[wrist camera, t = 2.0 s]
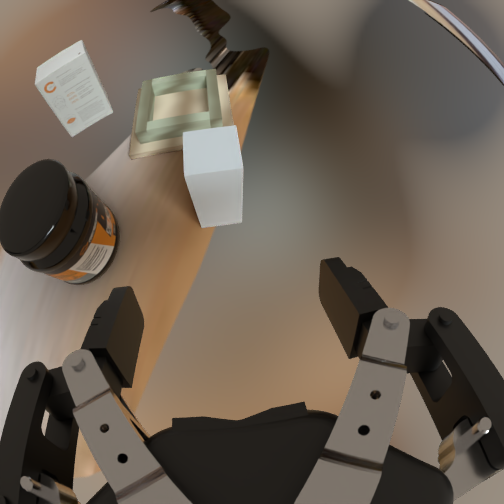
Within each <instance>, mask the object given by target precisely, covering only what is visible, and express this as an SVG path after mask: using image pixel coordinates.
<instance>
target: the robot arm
mask: <svg viewBox="0 0 504 504" xmlns="http://www.w3.org/2000/svg"><path fill="white" fill-rule="evenodd" d="M319 297H320V301H321V304H322V306H323V308H324V310H325V312H326V313H327V316H328V318H329V320H330V322H331V324H332V326H333V328H334V329H335V332H336V333H337V335H338V338H339V339H340V342H341V344H342V346H343V348H344V350H345V352H346V354H347V356H348V358H349V359H351V358H354V357H359V359H360V361H359V364H358V367H357V370H356V373H355V376H354V378H353V381H352V384H351V386H350V389H349V392H348V395H347V397H346V399H345V402H344V404H343V407H342V409H341V412H340V414H339V416H337V415H334V414H331V413H328V412H324V411H318V410H307V409H306V406H305V402H300V403H296V404H291V405H286V406H281V407H275V408H271V409H269V410H266V411H263V412H261V413H258V414H256V415H253V416H250V417H248V418H245V419H242V420H227V419H218V418H211V417H188V418H173V419H172V427H170V428H167V429H164V430H162V431H160V432H158V433H156V434H154V435H153V436H150V435H149V434H148V433H147V431H146V430H145V429H144V428H143V426H142V425H141V423H140V422H139V421H138V419H137V418H136V416H135V415H134V413H133V412H132V410H131V409H130V407H129V406H128V404H127V403H126V401H125V400H124V398H123V397H122V395H121V389H122V388H132V383H133V378H134V372H135V367H136V362H137V357H138V352H139V347H140V343H141V338H142V334H143V329H144V318H143V314H142V312H141V309H140V307H139V304H138V302H137V299H136V297H135V294H134V291H133V289H132V288H131V287H130V286H126V287H118V288H113V290H112V292H111V294H110V296H109V299H108V300H105V301H104V302H103V303H102V304H101V305H100V306H99V307H98V308H97V311H96V313H95V315H94V319H93V320H92V322H91V326H90V327H89V329H88V332H87V334H86V337H85V339H84V342H83V344H82V347H81V349H80V350H76V351H74V352H72V353H71V354H69V355H68V356H67V357H66V359H65V360H64V362H63V366H62V367H58V368H55V369H51V370H48V369H47V368H46V367H45V365H44V364H43V363H41V362H33V363H31V364H29V365H28V366H27V367H26V368H25V369H24V370H23V372H22V374H21V376H20V379H19V382H18V384H17V387H16V390H15V393H14V396H13V399H12V402H11V405H10V408H9V411H8V414H7V418H6V421H5V425H4V429H3V432H2V436H1V441H0V504H81V503H80V502H79V501H78V499H77V497H76V495H75V493H74V492H73V476H74V464H75V455H76V447H77V439H78V432H79V428H80V430H81V432H82V435H83V437H84V439H85V441H86V443H87V445H88V447H89V449H90V451H91V453H92V455H93V457H94V458H95V460H96V462H97V464H98V466H99V467H100V469H101V471H102V472H103V474H104V476H105V478H106V479H107V481H108V482H107V483H106V484H105V485H104V486H103V487H102V488H101V489H100V490H99V491H98V492H97V493H96V494H95V495H94V496H93V497H92V498H91V499H90V500H89V501H88V502H87V503H86V504H453V501H454V500H456V499H457V498H459V497H460V496H462V495H464V494H465V493H466V492H468V491H470V490H471V489H472V488H474V487H475V486H477V485H478V484H480V483H481V482H483V481H485V480H487V479H488V478H490V477H492V476H494V475H495V474H497V473H498V472H500V471H502V470H503V469H504V380H503V378H502V376H501V375H500V373H499V372H498V370H497V369H496V367H495V366H494V364H493V363H492V361H491V360H490V359H489V357H488V355H487V354H486V353H485V351H484V350H483V348H482V347H481V346H480V344H479V343H478V342H477V340H476V339H475V337H474V336H473V335H472V333H471V332H470V331H469V330H468V328H467V327H466V326H465V324H464V323H463V322H462V320H461V319H460V318H459V317H458V315H457V314H456V313H454V312H453V311H452V310H450V309H447V308H442V307H438V308H435V309H433V310H431V312H430V313H429V316H428V318H427V319H408V317H407V315H406V314H405V313H403V312H402V311H400V310H397V309H394V308H388V306H387V305H386V304H385V302H384V301H383V300H382V299H381V297H380V296H379V295H378V293H377V292H376V291H375V289H374V288H373V287H372V286H371V284H370V283H369V282H368V281H367V279H366V278H365V277H364V275H363V274H362V273H361V272H359V271H358V270H356V269H355V268H353V267H346V265H345V264H344V263H343V261H342V260H341V259H340V258H339V257H336V258H330V259H323V260H321V263H320V278H319ZM442 360H444V362H445V363H446V365H447V367H448V368H449V370H450V372H451V374H452V377H451V375H450V374H449V372H448V370H447V368H446V367H445V365H444V364H443V362H442ZM406 373H410V374H411V376H412V378H413V380H414V382H415V384H416V386H417V388H418V390H419V392H420V394H421V396H422V398H423V400H424V402H425V404H426V406H427V408H428V410H429V413H430V415H431V417H432V419H433V421H434V423H435V425H436V428H437V430H438V432H439V434H440V436H441V439H442V441H441V443H440V445H439V449H438V462H439V464H440V466H439V469H438V468H436V467H434V466H432V465H430V464H428V463H425V462H423V461H421V460H419V459H417V458H415V457H413V456H411V455H409V454H407V453H405V452H403V451H401V450H399V449H397V448H395V447H393V446H391V445H389V443H390V440H391V437H392V433H393V429H394V426H395V422H396V419H397V414H398V410H399V407H400V402H401V398H402V393H403V388H404V383H405V378H406ZM45 410H46V411H47V412H48V413H49V419H48V423H47V428H46V432H45V436H44V435H43V433H42V429H41V425H42V420H43V416H44V412H45Z"/></svg>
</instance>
